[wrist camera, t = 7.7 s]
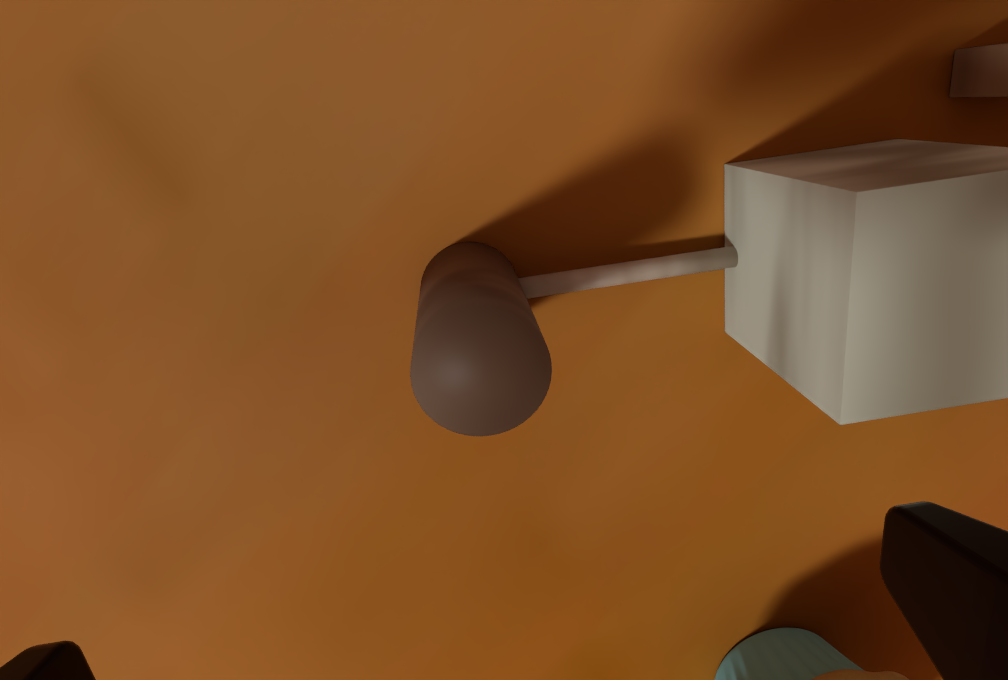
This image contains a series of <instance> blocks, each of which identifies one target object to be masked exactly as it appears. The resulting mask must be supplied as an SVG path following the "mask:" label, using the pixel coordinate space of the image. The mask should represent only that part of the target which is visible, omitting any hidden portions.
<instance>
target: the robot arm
mask: <svg viewBox="0 0 1008 680" xmlns="http://www.w3.org/2000/svg"><path fill="white" fill-rule="evenodd" d="M880 571H881V575H882V579H883V581H884V584H885V586H886V588H887V589H888V591H889V593H890V594H891V596H892V598H893V599H894V601H895V602H896V604H897V606H898V607H899V609H900V610H901V612H902V614H903V615H904V617H905V619H906V620H907V622H908V623H909V625H910V627H911V628H912V630H913V632H914V633H915V635H916V636H917V638H918V640H919V641H920V643H921V644H922V646H923V648H924V649H925V651H926V653H927V654H928V656H929V657H930V659H931V661H932V662H933V664H934V665H935V667H936V669H937V670H938V672H939V674H940V675H941V677H942V678H943V680H1008V531H1005V530H1003V529H1000V528H997V527H995V526H992V525H990V524H987V523H984V522H982V521H979V520H976V519H974V518H971V517H969V516H966V515H963V514H961V513H958V512H955V511H953V510H950V509H947V508H945V507H942V506H940V505H937V504H934V503H931V502H915V503H909V504H903V505H897V506H894V507H892V508H890V509H889V510H888V512H887V513H886V516H885V522H884V530H883V539H882V548H881V556H880ZM0 680H96V679H95V677H94V675H93V673H92V671H91V669H90V667H89V665H88V663H87V661H86V659H85V657H84V654H83V652H82V650H81V649H80V647H79V646H78V645H77V644H75V643H74V642H72V641H60V642H54V643H48V644H42V645H36V646H33V647H30V648H28V649H26V650H24V651H23V652H21V653H20V654H18V655H17V656H16V657H14V658H13V659H12V660H10V661H9V662H7V663H6V664H5V665H3V666H2V667H0Z"/></svg>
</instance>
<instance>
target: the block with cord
mask: <svg viewBox="0 0 1008 680" xmlns="http://www.w3.org/2000/svg"><path fill="white" fill-rule="evenodd" d="M724 169H725V247H722V248H716V249H709V250H702V251H696V252H689V253H682V254H676V255H669V256H662V257H656V258H649V259H642V260H636V261H629V262H622V263H616V264H609V265H602V266H596V267H589V268H582V269H576V270H569V271H562V272H556V273H549V274H542V275H536V276H529V277H522V278H518V277H517V275H516V273H515V270H514V268H513V266H512V265H511V263H510V262H509V260H508V259H507V258H506V257H505V256H504V255H503V254H502V253H501V252H499V251H498V250H496V249H495V248H493V247H491V246H489V245H486V244H482V243H477V242H462V243H457V244H454V245H451V246H449V247H447V248H445V249H443V250H442V251H440V252H439V253H438V254H437V255H436V256H434V257H433V259H432V260H431V261H430V262H429V264H428V265H427V267H426V269H425V271H424V274H423V277H422V281H421V288H420V296H419V304H418V312H417V320H416V328H415V336H414V344H413V352H412V360H411V372H410V377H411V385H412V388H413V392H414V395H415V397H416V399H417V401H418V403H419V404H420V406H421V408H422V409H423V410H424V411H425V413H426V414H427V415H428V416H429V417H430V418H431V419H432V420H434V421H435V422H436V423H438V424H439V425H441V426H442V427H444V428H446V429H448V430H451V431H453V432H456V433H459V434H463V435H469V436H489V435H495V434H499V433H503V432H505V431H508V430H510V429H513V428H515V427H517V426H518V425H520V424H521V423H523V422H524V421H526V420H527V419H528V418H529V417H530V416H531V415H532V414H533V413H534V412H535V411H536V410H537V409H538V407H539V406H540V405H541V403H542V402H543V400H544V398H545V396H546V394H547V391H548V389H549V385H550V381H551V373H552V367H551V358H550V354H549V351H548V348H547V345H546V343H545V340H544V338H543V336H542V333H541V331H540V329H539V326H538V324H537V322H536V319H535V317H534V315H533V312H532V310H531V308H530V305H529V303H528V301H527V299H528V298H534V297H541V296H548V295H554V294H561V293H567V292H574V291H581V290H587V289H594V288H601V287H607V286H614V285H620V284H627V283H634V282H640V281H647V280H653V279H660V278H667V277H673V276H680V275H686V274H693V273H700V272H706V271H713V270H719V269H725V332H726V333H727V334H728V335H730V336H731V337H732V338H733V339H735V340H736V341H737V342H738V343H740V344H741V345H742V346H743V347H744V348H746V349H747V350H748V351H749V352H751V353H752V354H753V355H754V356H756V357H757V358H758V359H759V360H761V361H762V362H763V363H764V364H765V365H767V366H768V367H769V368H770V369H772V370H773V371H774V372H775V373H777V374H778V375H779V376H780V377H782V378H783V379H784V380H785V381H786V382H788V383H789V384H790V385H791V386H793V387H794V388H795V389H796V390H798V391H799V392H800V393H801V394H803V395H804V396H805V397H806V398H807V399H809V400H810V401H811V402H812V403H814V404H815V405H816V406H817V407H819V408H820V409H821V410H822V411H824V412H825V413H826V414H827V415H829V416H830V417H831V418H832V419H833V420H835V421H836V422H837V423H838V424H840V425H843V424H849V423H855V422H862V421H868V420H874V419H880V418H886V417H892V416H899V415H905V414H911V413H917V412H923V411H929V410H936V409H942V408H948V407H954V406H960V405H966V404H973V403H979V402H985V401H991V400H997V399H1003V398H1008V147H999V146H986V145H973V144H960V143H947V142H934V141H921V140H908V139H894V140H887V141H880V142H873V143H866V144H859V145H852V146H845V147H838V148H831V149H825V150H818V151H811V152H804V153H797V154H790V155H783V156H776V157H769V158H762V159H755V160H749V161H742V162H735V163H728V164H724Z"/></svg>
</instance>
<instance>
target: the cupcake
mask: <svg viewBox="0 0 1008 680" xmlns="http://www.w3.org/2000/svg"><path fill="white" fill-rule="evenodd" d="M715 680H910V679H908V678H907V677H906V676H904V675H902V674H900V673H897V672H894V671H880V672H870V671H865V670H863V669H862V668H860V667H859V666H857V665H856V664H855V663H853V662H852V661H850V660H849V659H848V658H846V657H845V656H844V655H843V654H841V653H840V652H839V651H838V650H836V649H835V648H834V647H833V646H831V645H830V644H829V643H828V642H826V641H825V640H824V639H823V638H821V637H820V636H818V635H817V634H815V633H813V632H810V631H808V630H804V629H800V628H789V627H786V628H775V629H770V630H766V631H763V632H760V633H758V634H755V635H753V636H751V637H749V638H747V639H745V640H744V641H742V642H741V643H739V644H738V645H737V646H736V647H734V648H733V649H732V650H731V651H730V652H729V653H728V654H727V655H726V657H725V658H724V659H723V661H722V662H721V664H720V666H719V668H718V670H717V673H716V676H715Z"/></svg>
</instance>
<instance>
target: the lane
mask: <svg viewBox="0 0 1008 680" xmlns="http://www.w3.org/2000/svg"><path fill="white" fill-rule="evenodd" d="M949 97H1008V43H1002V44H994V45H987V46H979V47H972V48H964V49H957V50H955V53H954V62H953V70H952V78H951V86H950V94H949ZM1003 399H1005V398H1003ZM997 400H999V399H997ZM991 401H992V400H991ZM985 402H986V401H985Z"/></svg>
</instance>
